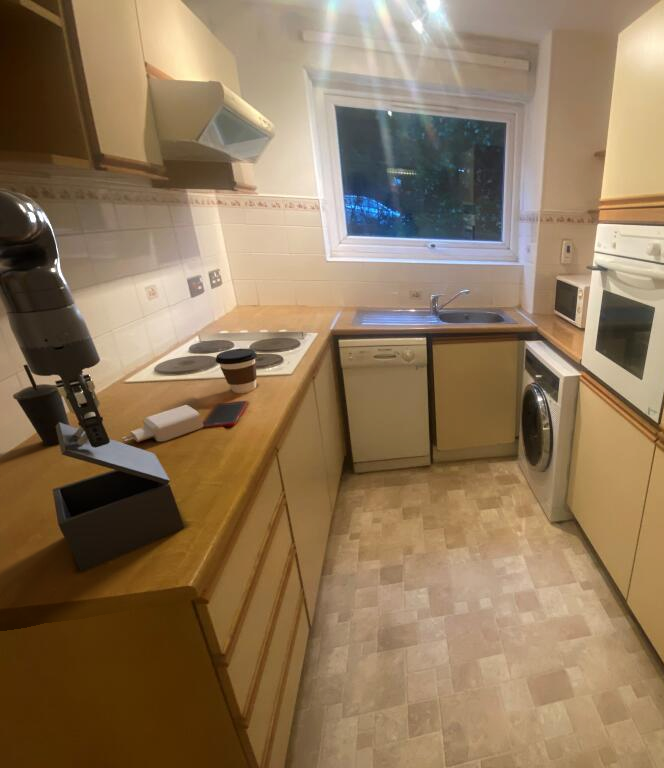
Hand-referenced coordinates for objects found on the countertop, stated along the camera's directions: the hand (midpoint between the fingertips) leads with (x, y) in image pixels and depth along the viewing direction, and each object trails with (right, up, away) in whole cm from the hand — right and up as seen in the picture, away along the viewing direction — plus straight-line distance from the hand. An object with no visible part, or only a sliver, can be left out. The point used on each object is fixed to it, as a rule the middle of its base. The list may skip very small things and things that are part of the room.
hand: (98, 438), depth 70 cm
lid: (0, -3, +2) cm, 4 cm away
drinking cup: (-43, -6, +35) cm, 56 cm away
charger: (-21, -4, +39) cm, 44 cm away
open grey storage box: (-1, -18, +7) cm, 19 cm away
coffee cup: (-17, +7, +66) cm, 69 cm away
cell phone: (-12, 0, +49) cm, 50 cm away
